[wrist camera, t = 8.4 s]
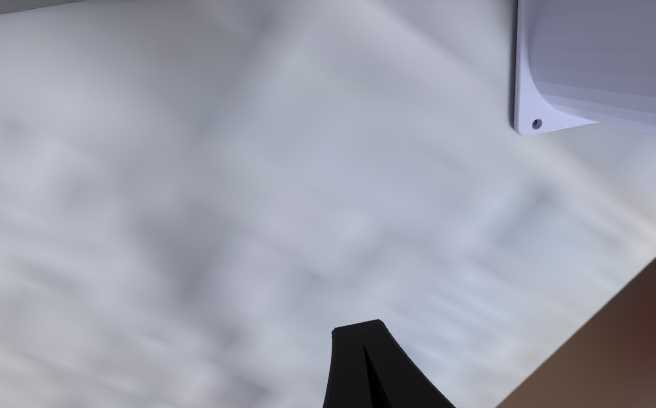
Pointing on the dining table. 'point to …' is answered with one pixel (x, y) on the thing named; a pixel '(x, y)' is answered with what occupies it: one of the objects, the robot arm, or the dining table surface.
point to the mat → (28, 4)
